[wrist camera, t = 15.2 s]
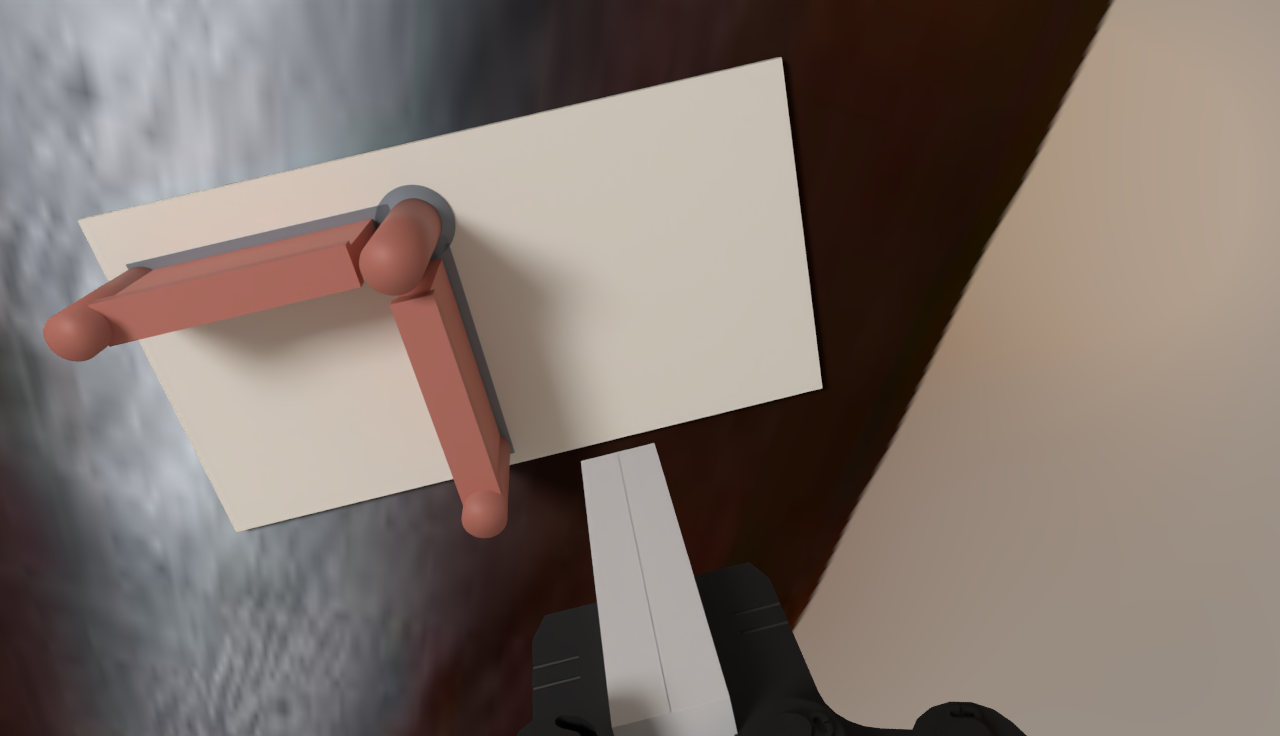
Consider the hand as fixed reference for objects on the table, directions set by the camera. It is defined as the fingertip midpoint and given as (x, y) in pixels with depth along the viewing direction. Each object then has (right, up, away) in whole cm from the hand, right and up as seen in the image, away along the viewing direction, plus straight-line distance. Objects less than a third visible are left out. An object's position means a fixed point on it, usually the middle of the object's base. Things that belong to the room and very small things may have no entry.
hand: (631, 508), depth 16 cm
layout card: (-7, +6, +23) cm, 25 cm away
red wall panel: (-9, +3, +24) cm, 25 cm away
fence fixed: (-16, +8, +21) cm, 27 cm away
